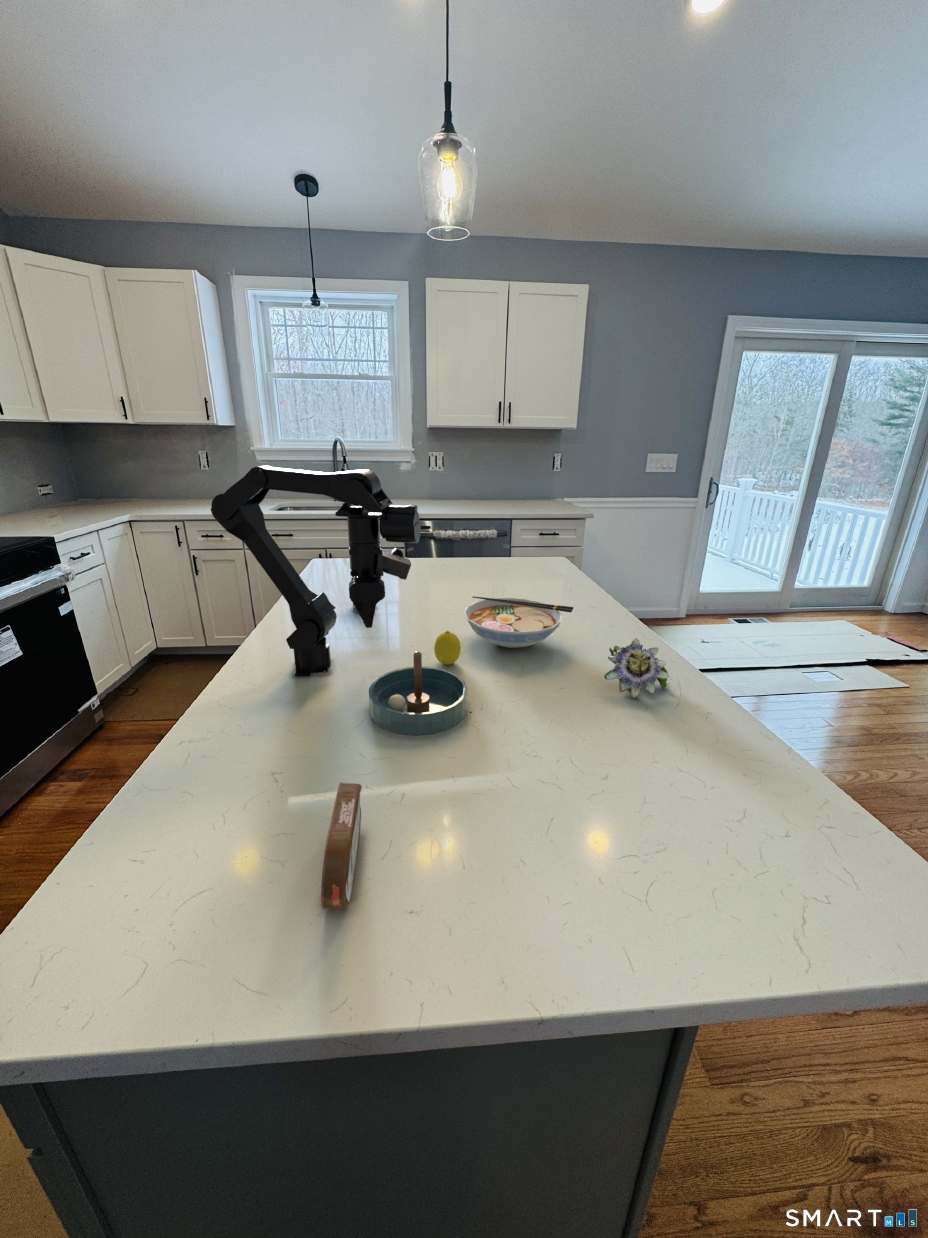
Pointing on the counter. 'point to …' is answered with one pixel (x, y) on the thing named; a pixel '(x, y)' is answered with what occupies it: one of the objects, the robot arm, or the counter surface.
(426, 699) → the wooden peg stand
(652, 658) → the passion flower
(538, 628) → the ramen bowl
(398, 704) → the dough ball
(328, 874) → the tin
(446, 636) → the lemon
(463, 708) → the bowl
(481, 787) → the counter surface
